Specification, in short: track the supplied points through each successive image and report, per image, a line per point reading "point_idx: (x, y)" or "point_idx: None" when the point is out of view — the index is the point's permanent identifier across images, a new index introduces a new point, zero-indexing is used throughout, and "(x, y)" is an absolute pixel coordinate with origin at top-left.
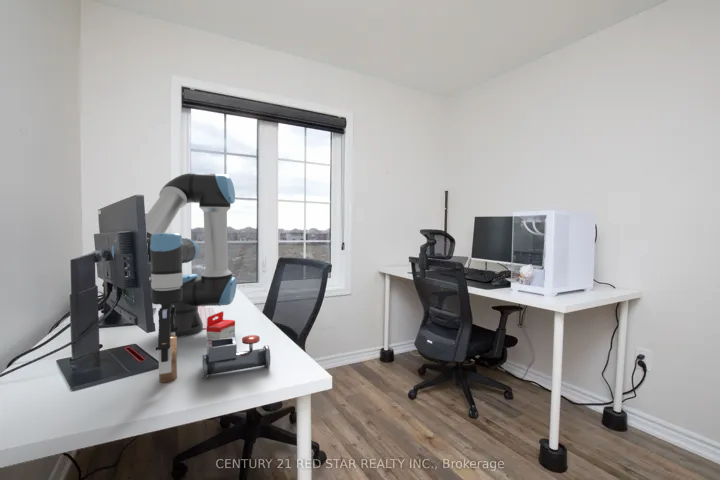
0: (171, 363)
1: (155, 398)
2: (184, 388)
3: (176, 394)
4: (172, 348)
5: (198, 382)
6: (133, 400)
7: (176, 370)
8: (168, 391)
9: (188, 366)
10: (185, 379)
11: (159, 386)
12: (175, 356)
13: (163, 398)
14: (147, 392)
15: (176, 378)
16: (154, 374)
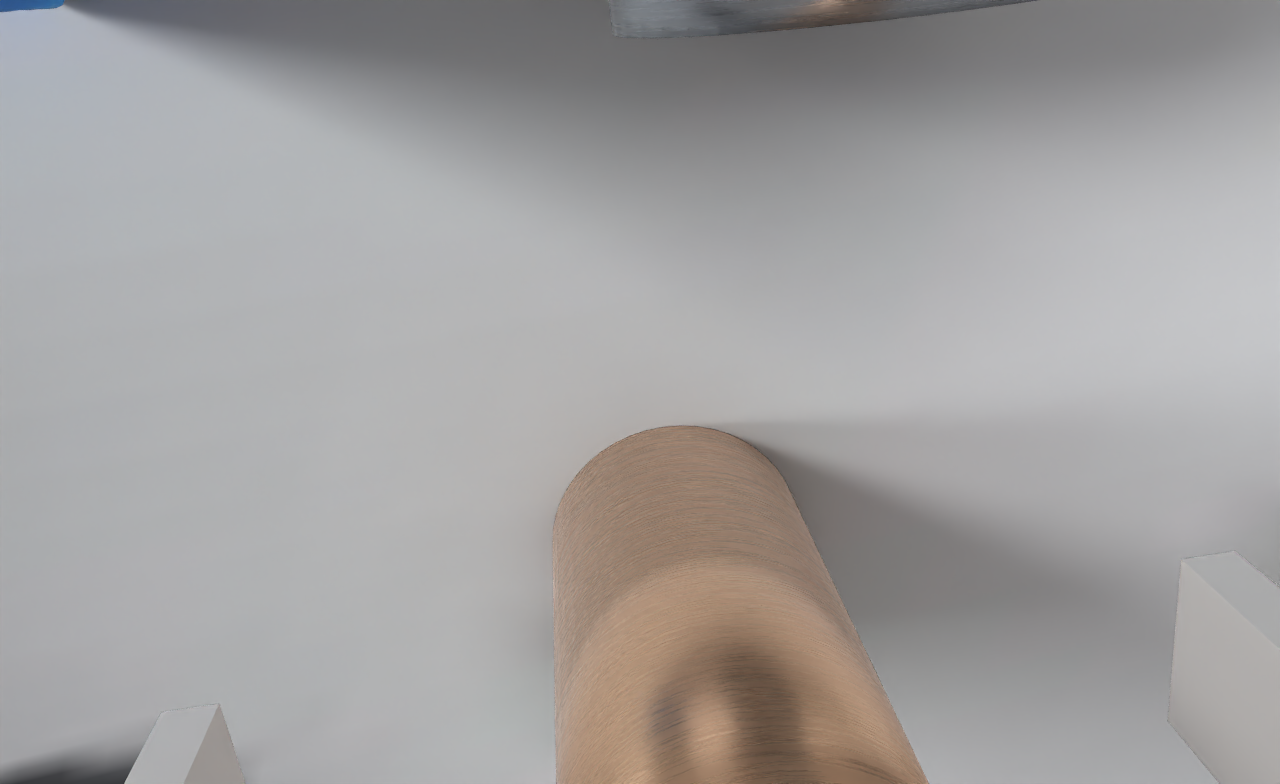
0: (860, 643)
1: (1223, 542)
2: (1101, 237)
3: (1246, 311)
4: None
5: (974, 46)
6: (1147, 752)
7: (717, 490)
8: (1093, 438)
9: (194, 344)
10: (765, 286)
11: (875, 588)
12: (811, 665)
13: (1276, 449)
14: (999, 675)
15: (701, 430)
16: (423, 755)
